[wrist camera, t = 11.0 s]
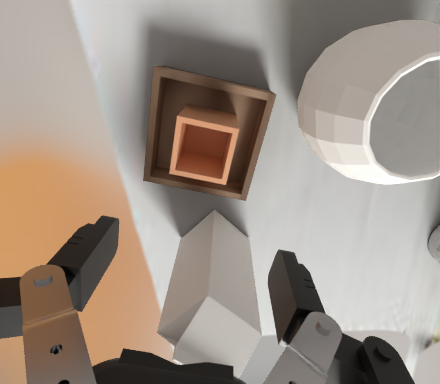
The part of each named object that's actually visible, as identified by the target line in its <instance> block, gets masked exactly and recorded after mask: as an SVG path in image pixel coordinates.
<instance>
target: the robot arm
mask: <svg viewBox="0 0 440 384" xmlns="http://www.w3.org/2000/svg"><path fill="white" fill-rule="evenodd" d="M118 233H119V219H118V218H113V217H108V216H101V217H100V218H99V219H98V221H97V222H96V223H95V224H89V223H88V224H86V225H85V226H83V227H81V228H79V229H78V230H77V231H76V232H75V233H74V234H73V236H72V237H71V238H70V239H69V240H68V241H67V243H65V244H64V245H63V247H62V248H61V249H60V250H59V251H58V252H57V253H56V254H55V255H54V257H53V258H52V259H51V260H50V261H49V262H48V263H47V264H46V265H41V266H37V267H35V268H33V269H30V270H29V271H27V272H26V273H25V274H24V275H23V276H22V277H14V278H0V339H1V338H9V337H16V336H23V342H24V354H25V366H26V377H27V384H246V383H245V382H243V381H242V380H240V379H239V378H237V377H235V376H234V368H233V366H230V365H224V364H217V363H211V362H201V363H192V364H184V365H177V364H174V363H172V362H170V361H168V360H165V359H163V358H161V357H159V356H156V355H154V354H152V353H148V352H142V351H136V350H129V349H123V351H122V354H121V357H120V358H115V359H111V360H107V361H104V362H101V363H99V364H97V365H95V366H93V367H92V365H91V361H90V358H89V354H88V350H87V346H86V343H85V339H84V335H83V332H82V328H81V324H80V321H79V317H78V313H77V311H80V312H82V311H83V309H84V307H85V305H86V304H87V302H88V300H89V299H90V297H91V295H92V293H93V292H94V290H95V288H96V287H97V285H98V283H99V282H100V280H101V278H102V276H103V275H104V273H105V271H106V270H107V268H108V266H109V265H110V263H111V261H112V259H113V258H114V256H115V254H116V251H117V247H118ZM428 248H429V252H430V254H431V255H432V256H433V257H434V258H435V259H436V260H437V261H438V262H439V263H440V225H438V226H437V228H436V229H435V230H434V231H433V233H432V235H431V236H430V239H429V243H428ZM268 288H269V293H270V299H271V305H272V310H273V316H274V322H275V327H276V333H277V338H278V344H279V346H286V349H285V350H284V352H283V354H282V355H281V356H280V358H279V360H278V361H277V363H276V364H275V366H274V368H273V369H272V371H271V372H270V374H269V375H268V377H267V378H266V380H265V382H264V383H263V384H415V383H414V381H413V379H412V377H411V376H410V374H409V372H408V370H407V368H406V366H405V364H404V362H403V360H402V359H401V357H400V355H399V354H398V352H397V351H396V350H395V349H394V348H393V347H392V346H391V345H390V344H389V343H387V342H386V341H384V340H382V339H380V338H378V337H374V336H369V337H367V338H365V340H364V341H363V342H360V341H358V340H356V339H354V338H352V337H350V336H348V335H345V334H343V333H342V331H341V329H340V327H339V325H338V324H337V323H336V321H335V320H334V319H332V318H331V317H330V316H328V315H326V314H325V311H324V308H323V306H322V303H321V301H320V298H319V295H318V293H317V290H316V289H315V285H314V282H313V280H312V277H311V275H310V272H309V271H308V270H307V269H306V267H305V266H304V265H303V264H299V263H298V262H297V259H296V256H295V253H294V252H290V251H284V250H278V251H277V253H276V256H275V258H274V261H273V264H272V266H271V269H270V272H269V275H268Z"/></svg>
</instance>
